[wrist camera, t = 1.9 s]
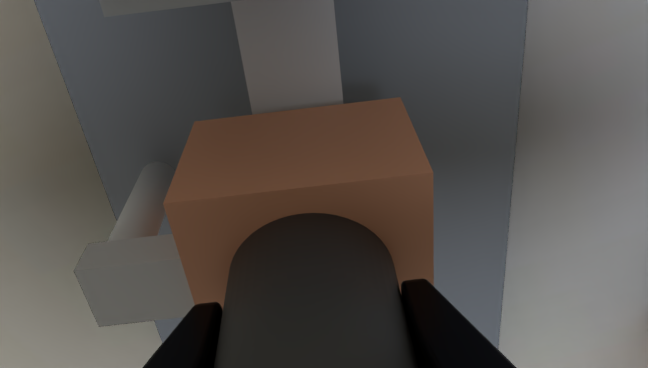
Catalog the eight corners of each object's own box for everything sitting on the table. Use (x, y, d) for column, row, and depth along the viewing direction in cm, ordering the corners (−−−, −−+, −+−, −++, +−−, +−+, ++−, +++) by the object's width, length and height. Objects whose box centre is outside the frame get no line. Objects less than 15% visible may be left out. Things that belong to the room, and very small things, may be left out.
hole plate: (547, -484, 9) (876, -931, 4) (477, 492, 25) (526, 662, 20) (-88, -398, 9) (-567, -719, 4) (239, 517, 25) (224, 692, 20)
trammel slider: (390, 74, 13) (544, 421, 5) (396, 214, 15) (510, 616, 7) (117, 106, 13) (-161, 497, 5) (162, 241, 15) (15, 666, 7)
